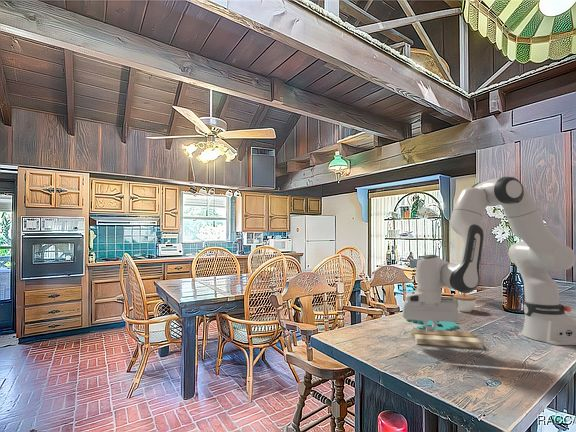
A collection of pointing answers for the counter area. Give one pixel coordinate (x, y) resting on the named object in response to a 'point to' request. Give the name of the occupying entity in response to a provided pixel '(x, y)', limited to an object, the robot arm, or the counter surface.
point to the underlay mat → (443, 345)
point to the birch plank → (448, 341)
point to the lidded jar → (465, 302)
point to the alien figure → (440, 326)
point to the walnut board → (443, 333)
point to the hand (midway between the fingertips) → (430, 331)
